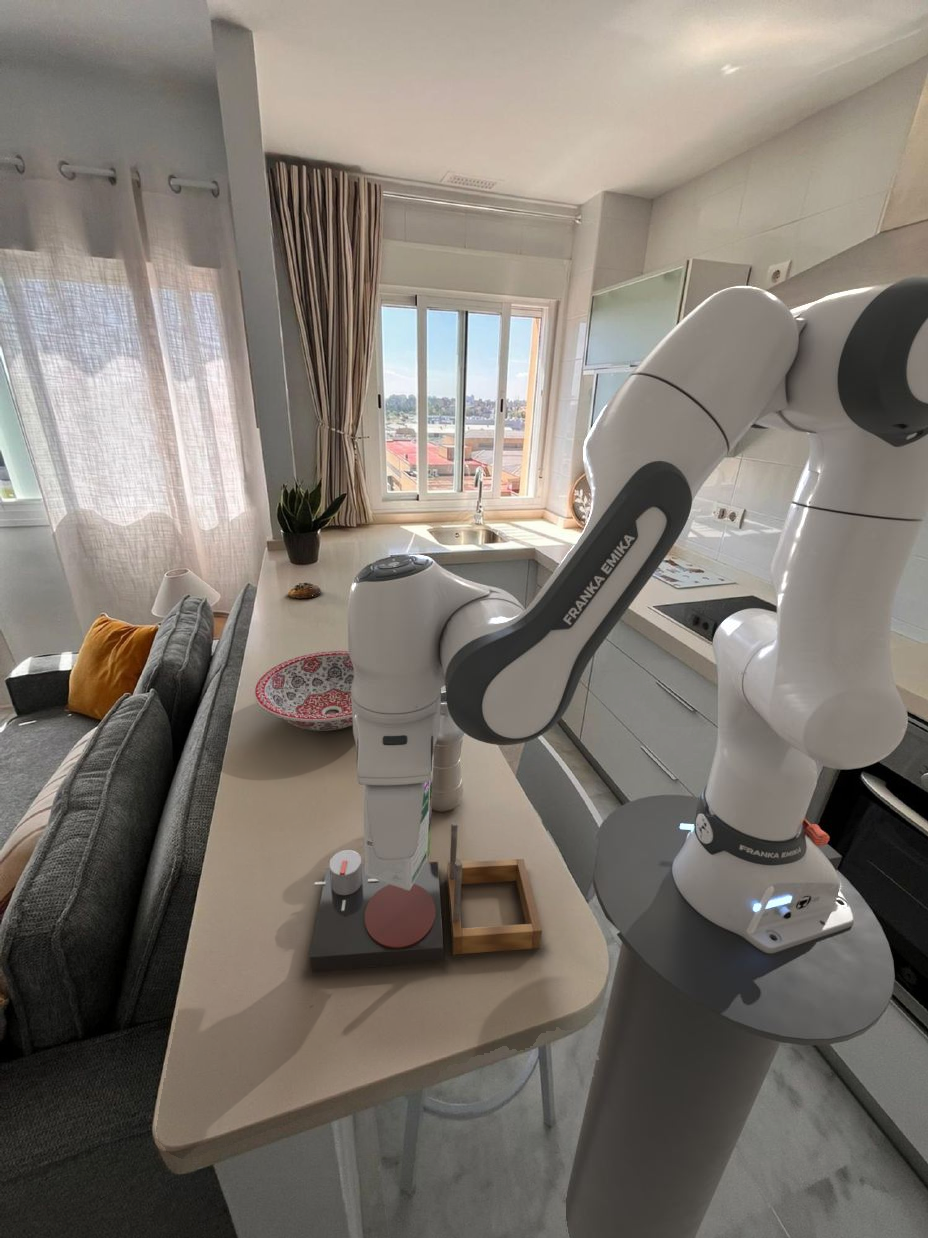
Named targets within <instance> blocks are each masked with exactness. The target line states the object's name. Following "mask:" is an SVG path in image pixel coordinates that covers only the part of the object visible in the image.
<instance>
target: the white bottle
mask: <svg viewBox="0 0 928 1238" xmlns="http://www.w3.org/2000/svg"><path fill="white" fill-rule="evenodd" d="M440 711H441V712H440V732H439V735H438V737H437V740H436V744H435V747H434V750H433V782H432V808H431V810H434V811H438V812H448V811H452V810H453V809H455V808H456V807H457V806H458V805H459V804H460V803H461V801H462V798H463V794H464V785H463V784H464V783H463V779H462V774H461V772H462V771H461V756H462V746H463V740H464V735H465V733H464V732H463V731H462V730H461V729H460V728H459V727H458V726H457V725H456V724H455V723H454V721H453V719H452V718H451V716H450V713H449V711H448V707H447V699H446V691H441V708H440Z"/></svg>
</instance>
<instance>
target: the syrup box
mask: <svg viewBox="0 0 928 1238" xmlns="http://www.w3.org/2000/svg"><path fill="white" fill-rule="evenodd" d="M432 782H433V757H432V771H431V780H430V781H429V782H425V786H424V796H423V805H422V814H421V823H420V831H419V839H418V845H417V850H416V852H415V854H414V855H413V856H412V857H410V858H405V859H394V860H386V859H379V858H378V857H377V856H376V855H375V853H374V850H373V846H372V840H371V833H370V826H369V819H368V812H367V803H366V791H365V785H363V837H364V838H363V839H364V840H363V841H364V842H363V843H364V866H365V874H366V875H367V876H369V877H372V878H374V879H377V880H379V881H382V882H385V883H388V884H391V885H394V886H397V887H400V888H402V889H406V890H408V891H410V889H411V887H412V885H413V884H414V882H415V880H416V878H417V877H418V875H419V873H420V871H421V869H422V867H423V865H424V863H425V862H427V859H428V858H429V856H430V854H431V833H432V832H431V829H432V828H431V826H432Z"/></svg>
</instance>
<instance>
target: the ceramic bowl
mask: <svg viewBox="0 0 928 1238" xmlns="http://www.w3.org/2000/svg"><path fill="white" fill-rule="evenodd" d="M353 678H354V668H353V664H352V662H351V660H350V656H349V650H329V651H319V652H313V653H309V654H303V655H300V656H296V657H294V658H290V659H288V660H286V661H283V662H281V663H278V664H276V665H275V666H273V667H272V668H270V669H268V670H267V671H266V672H265V673H263V674H262V676H260V678H258V680H257V681H256V683H255V685H254V690H253V695H254V699H255V702H256V704H257V705H258V706H259V707H260V708H261V709H262V710H263V711H265V712H266V713H268V714H270V715H271V716H274V717H277V718H279V719H280V720H282V721H283V722H285V723H287V724H288V725H290V726H293V727H296V728H300V729H303V730H308V731H318V732H319V731H321V732H323V731H325V732H326V731H335V730H342V729H345V728H349V727H353V719H352V703H351V685H352V682H353ZM334 710H335V711H338V712H336V713H328V714H327V712H328V711H334Z"/></svg>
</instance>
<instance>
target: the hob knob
mask: <svg viewBox="0 0 928 1238" xmlns="http://www.w3.org/2000/svg"><path fill="white" fill-rule="evenodd" d="M362 862H363V861H362V857H361V854H359V853H358V852H357V851H355V850H353V849H343V850H339V851H338V852H336V853H335V854H333V855H332V857H331V859H330V860H329V862H328V863H329V864H328V868H329V869H330V880H331V888H332V890H333V891H334V892H335V893H336V894H338V895H350V894H352V893H354V892H356V891H357V890H358V889H359V888H360V886H361V884H362V866H363V865H362Z"/></svg>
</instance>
